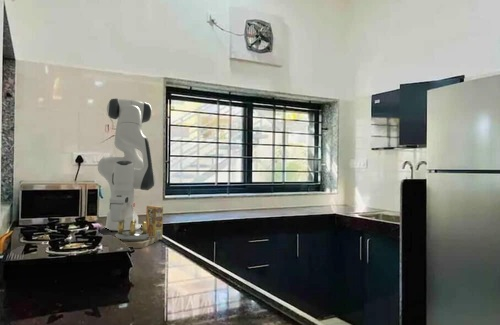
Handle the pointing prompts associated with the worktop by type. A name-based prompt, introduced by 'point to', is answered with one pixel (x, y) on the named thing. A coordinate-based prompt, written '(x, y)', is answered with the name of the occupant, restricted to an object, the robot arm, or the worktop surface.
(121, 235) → the cam disc
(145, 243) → the stand plate
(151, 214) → the candy box
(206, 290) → the worktop surface
